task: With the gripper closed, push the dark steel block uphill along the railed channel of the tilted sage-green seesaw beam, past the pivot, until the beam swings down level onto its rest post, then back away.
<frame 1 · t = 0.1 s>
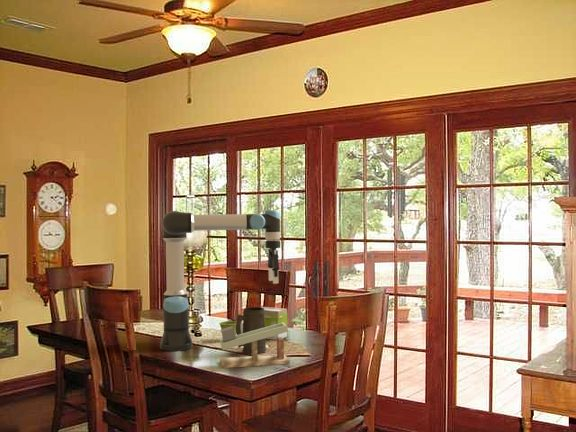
hand: (273, 282, 314), 28 cm above the table, fingers open, 13 cm apart
tea box: (270, 337, 313), on the table
beer stein: (250, 352, 279), on the table
plant pot: (229, 340, 308), on the table
beam stand: (254, 362, 259), on the table
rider: (230, 342, 257), point 9 cm above the table, tilted 13°, touching beam
beam: (253, 335, 259), point 11 cm above the table, hinge at -12.7°, touching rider
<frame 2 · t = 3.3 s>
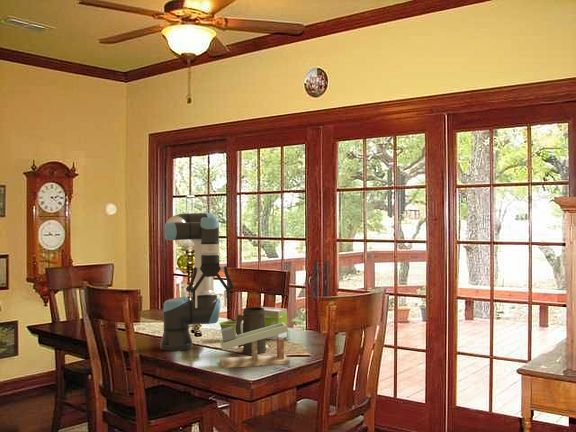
hand: (210, 306, 256), 24 cm above the table, fingers open, 11 cm apart
nothing on the table moved.
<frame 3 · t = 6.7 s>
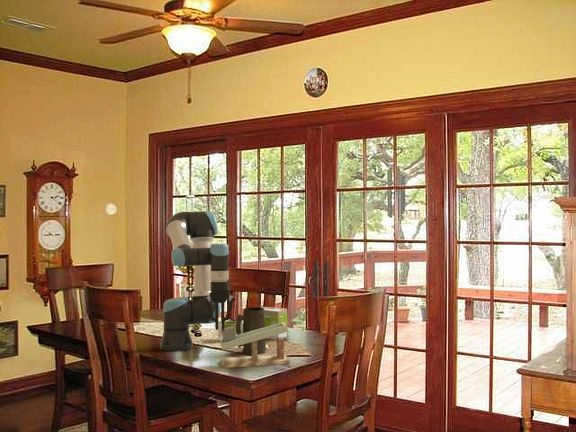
hand: (219, 337, 256), 11 cm above the table, fingers closed
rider: (230, 342, 257), point 9 cm above the table, tilted 11°, touching beam, gripper
everything else where it was.
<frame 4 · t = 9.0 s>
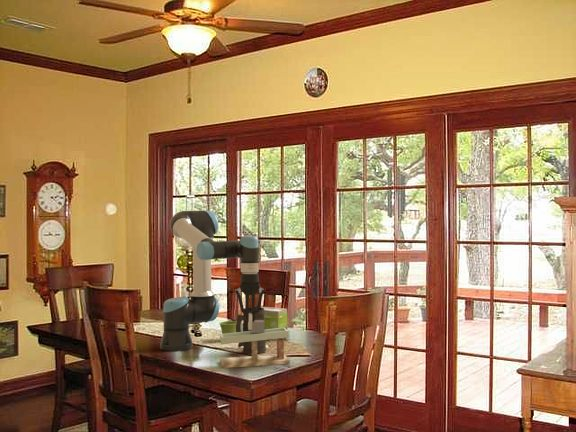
hand: (250, 329, 258), 14 cm above the table, fingers closed
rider: (257, 335, 259), point 11 cm above the table, touching gripper
beam: (254, 335, 259), point 11 cm above the table, hinge at -3.0°
everything else where it was.
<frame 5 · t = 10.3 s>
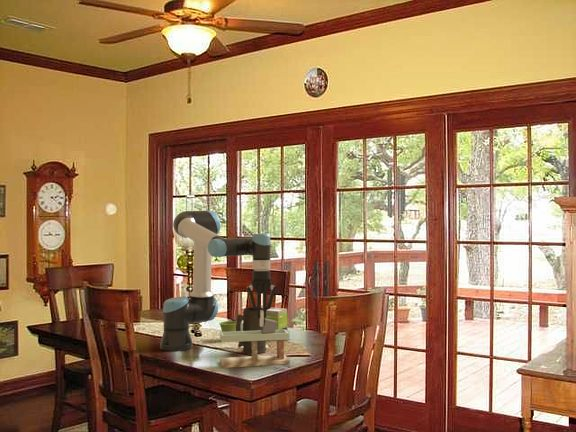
hand: (261, 326, 259), 15 cm above the table, fingers closed
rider: (267, 334, 260), point 12 cm above the table, tilted 15°, touching beam, gripper
beam: (254, 335, 259), point 11 cm above the table, hinge at 0.7°, touching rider
everything else where it was.
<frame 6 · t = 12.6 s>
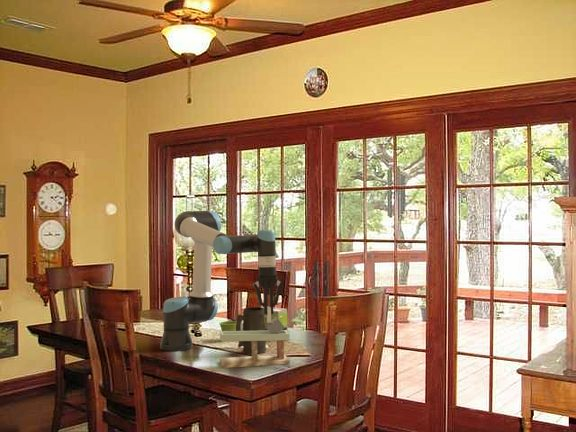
hand: (269, 322, 260), 17 cm above the table, fingers closed
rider: (269, 331, 260), point 13 cm above the table, tilted 52°, touching beam, gripper
beam: (254, 335, 259), point 11 cm above the table, hinge at 1.9°, touching beam stand, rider
everything else where it was.
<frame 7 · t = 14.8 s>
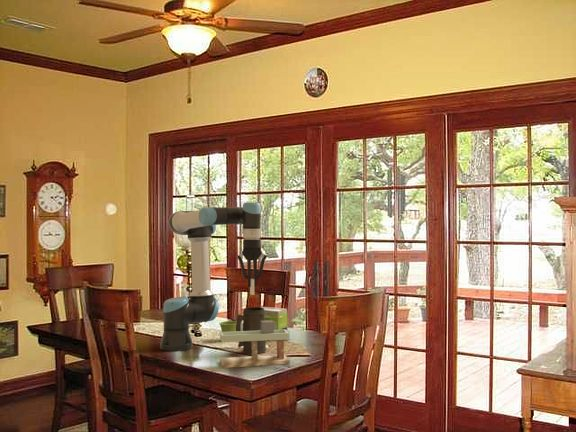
hand: (252, 294, 261), 28 cm above the table, fingers closed
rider: (267, 335, 260), point 11 cm above the table, touching beam
beam: (254, 335, 259), point 11 cm above the table, hinge at 0.6°, touching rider
everything else where it was.
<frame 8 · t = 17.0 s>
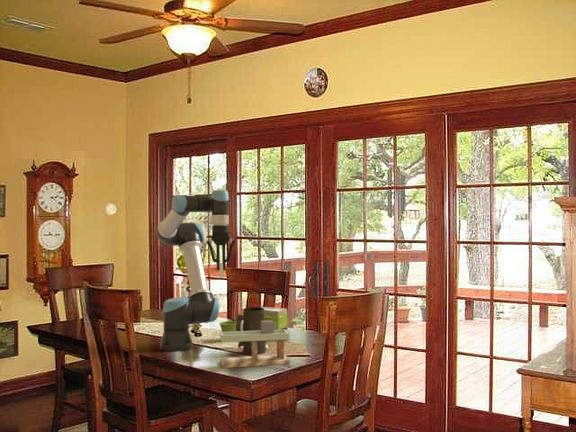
hand: (221, 277, 275), 34 cm above the table, fingers closed
nothing on the table moved.
at the end: beam at +1° (first picture: -13°); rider inside the target area (3.6 cm from its centre), point 11.1 cm above the table; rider touching beam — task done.
